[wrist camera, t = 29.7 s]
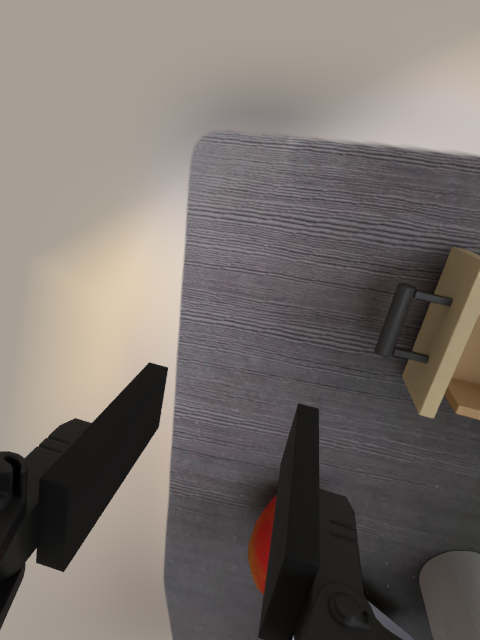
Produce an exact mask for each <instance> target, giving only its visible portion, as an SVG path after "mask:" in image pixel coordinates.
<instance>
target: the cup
mask: <svg viewBox="0 0 480 640" xmlns="http://www.w3.org/2000/svg"><path fill="white" fill-rule="evenodd" d="M419 585H420V588H421V592H422V596H423V600H424V604H425V608H426V612H427V616H428V620H429V624H430V628H431V632H432V636H433V639H434V640H480V554H479V553H476V552H470V551H450V552H446V553H443V554H440V555H437V556H436V557H434V558H432V559H431V560H430V561H428V562H427V563H426V564H425V565H424V567H423V568H422V570H421V572H420V576H419Z"/></svg>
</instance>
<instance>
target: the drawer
mask: <svg viewBox="0 0 480 640" xmlns="http://www.w3.org/2000/svg"><path fill="white" fill-rule="evenodd" d="M413 297H414V298H416V299H420V300H424V301H428V302H431V303H430V305H429V308H428V311H427V313H426V316H425V318H424V321H423V324H422V326H421V329H420V331H419V334H418V336H417V339H416V342H415V344H414V347H413V349H412V351H410V350H406V349H402V348H398V347H395V346H396V343H397V340H398V337H399V335H400V332H401V329H402V327H403V324H404V321H405V319H406V316H407V313H408V310H409V308H410V305H411V302H412V300H413ZM375 353H376V354H378V355H380V356H382V357H386V358H390V357H391V356H392V354H393V355H394V356H398V357H402V358H406V359H409V360H408V362H407V365H406V368H405V370H404V373H403V375H402V378H403V380H404V382H405V384H406V387H407V389H408V391H409V393H410V396H411V398H412V400H413V402H414V405H415V407H416V409H417V411H418V414H419V415H422V416H425V417H429V418H434V417H435V415H436V412H437V410H438V408H439V405H440V403H441V401H442V399H443V396H445V397H446V399H447V401H448V402H449V404H450V406H451V407H452V409H453V410H454V412H455V413H456V414H459V415H463V416H466V417H470V418H474V419H478V420H480V255H477V254H475V253H473V252H470V251H468V250H466V249H461V248H457V247H452V249H451V251H450V254H449V256H448V259H447V261H446V264H445V267H444V269H443V272H442V274H441V277H440V280H439V282H438V285H437V287H436V290H435V293H434V294H432V293H428V292H424V291H420V290H416V287H414V286H412V285H409V284H405V283H398V285H397V288H396V291H395V294H394V297H393V299H392V302H391V305H390V308H389V311H388V314H387V316H386V319H385V322H384V325H383V328H382V331H381V334H380V336H379V339H378V342H377V345H376V348H375Z"/></svg>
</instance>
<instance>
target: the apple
mask: <svg viewBox="0 0 480 640" xmlns="http://www.w3.org/2000/svg"><path fill="white" fill-rule="evenodd" d="M276 497H277V495H276V496H275V497H273V499H272V500H271V501H270V503H269V504H268V505H267V507H266V508H265V509H264V511H263V512H262V514H261V515H260V517H259V519H258V520H257V522H256V524H255V527H254V530H253V533H252V535H251V538H250V541H249V547H248V561H249V565H250V569H251V574H252V577H253V579H254V582H255V585H256V587H257V588H258V589H259V590H260V591H261V593H262V594H263V595H264V590H265V582H266V574H267V567H268V559H269V551H270V544H271V536H272V528H273V520H274V513H275V505H276Z"/></svg>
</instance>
